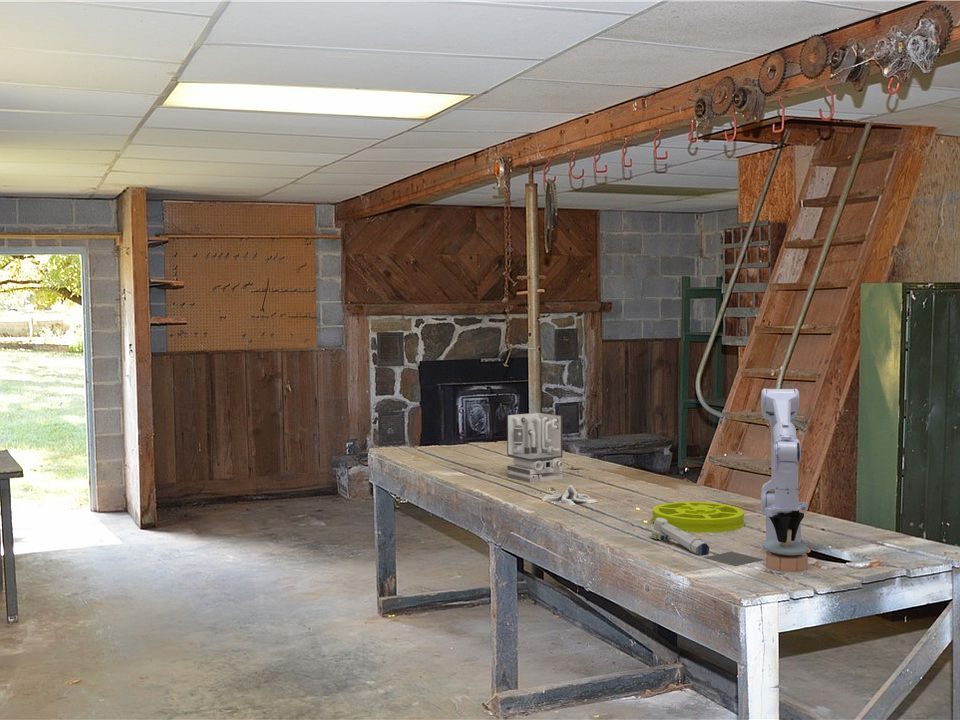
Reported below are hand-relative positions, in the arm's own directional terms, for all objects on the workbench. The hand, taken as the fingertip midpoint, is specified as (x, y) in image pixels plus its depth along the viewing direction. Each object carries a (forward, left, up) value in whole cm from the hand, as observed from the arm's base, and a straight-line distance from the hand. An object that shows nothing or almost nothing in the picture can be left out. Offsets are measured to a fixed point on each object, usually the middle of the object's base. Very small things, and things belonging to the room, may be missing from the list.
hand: (786, 541), depth 251 cm
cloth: (-12, -101, -8) cm, 102 cm away
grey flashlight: (+5, -33, -7) cm, 34 cm away
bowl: (0, 0, -7) cm, 7 cm away
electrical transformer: (-32, -147, -7) cm, 151 cm away
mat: (+5, -13, -7) cm, 15 cm away
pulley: (-22, -51, -7) cm, 56 cm away
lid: (0, 0, -2) cm, 2 cm away
